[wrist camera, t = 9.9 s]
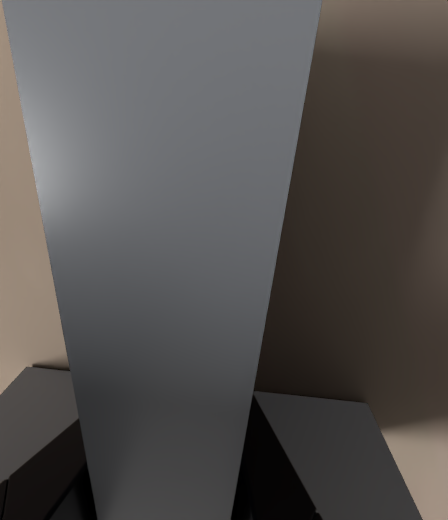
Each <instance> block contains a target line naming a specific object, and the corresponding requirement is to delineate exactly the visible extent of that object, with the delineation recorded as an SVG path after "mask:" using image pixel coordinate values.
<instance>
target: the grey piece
mask: <svg viewBox="0 0 448 520" xmlns="http://www.w3.org/2000/svg"><path fill="white" fill-rule="evenodd" d="M2 4H3V9H4V15H5V20H6V26H7V31H8V36H9V42H10V47H11V53H12V58H13V63H14V69H15V74H16V80H17V85H18V91H19V96H20V101H21V107H22V112H23V118H24V123H25V128H26V134H27V139H28V145H29V150H30V156H31V161H32V166H33V172H34V177H35V183H36V188H37V194H38V199H39V204H40V210H41V215H42V221H43V226H44V231H45V237H46V242H47V248H48V253H49V259H50V264H51V269H52V275H53V280H54V286H55V291H56V296H57V302H58V307H59V313H60V318H61V324H62V329H63V334H64V340H65V345H66V351H67V356H68V362H69V367H70V371H62V370H53V369H44V368H34V367H26V368H25V369H24V370H23V371H22V372H21V373H20V374H19V375H18V376H17V378H16V379H15V380H14V381H13V382H12V383H11V384H10V385H9V386H8V387H7V388H6V389H5V390H4V392H3V393H2V394H1V395H0V483H1V482H2V481H3V480H5V479H8V478H9V476H10V475H11V474H12V473H13V472H14V471H15V470H17V469H18V468H19V467H20V466H21V465H23V464H24V463H25V462H26V461H27V460H29V459H30V458H31V457H32V456H33V455H35V454H36V453H37V452H38V451H39V450H41V449H42V448H43V447H44V446H45V445H47V444H48V443H49V442H50V441H51V440H53V439H54V438H55V437H56V436H57V435H59V434H60V433H61V432H62V431H63V430H65V429H66V428H67V427H68V426H69V425H71V424H72V423H73V422H74V421H75V420H77V419H78V418H79V421H80V427H81V432H82V437H83V443H84V448H85V454H86V459H87V464H88V470H89V475H90V481H91V486H92V492H93V497H94V502H95V508H96V513H97V519H98V520H231V514H232V508H233V503H234V497H235V491H236V486H237V480H238V474H239V469H240V463H241V457H242V452H243V446H244V440H245V435H246V429H247V423H248V418H249V412H250V406H251V401H252V395H253V394H254V396H255V398H256V399H257V401H258V403H259V405H260V407H261V408H262V410H263V412H264V414H265V416H266V418H267V419H268V421H269V423H270V425H271V427H272V428H273V430H274V432H275V434H276V436H277V437H278V439H279V441H280V443H281V445H282V447H283V448H284V450H285V452H286V454H287V456H288V457H289V459H290V461H291V463H292V465H293V466H294V468H295V470H296V472H297V474H298V476H299V477H300V479H301V481H302V483H303V485H304V486H305V488H306V490H307V492H308V494H309V495H310V497H311V499H312V501H313V503H314V505H315V506H316V508H317V511H316V512H318V513H320V515H321V517H322V519H323V520H423V519H422V517H421V515H420V513H419V511H418V509H417V507H416V505H415V503H414V500H413V498H412V496H411V494H410V492H409V490H408V488H407V486H406V484H405V481H404V479H403V477H402V475H401V473H400V471H399V469H398V467H397V465H396V462H395V460H394V458H393V456H392V454H391V452H390V450H389V448H388V446H387V443H386V441H385V439H384V437H383V435H382V433H381V431H380V429H379V426H378V424H377V422H376V420H375V418H374V416H373V414H372V412H371V410H370V407H369V405H368V403H361V402H351V401H342V400H333V399H323V398H314V397H305V396H295V395H286V394H277V393H267V392H258V391H253V390H254V384H255V378H256V373H257V367H258V361H259V356H260V350H261V344H262V339H263V333H264V327H265V322H266V316H267V310H268V305H269V299H270V293H271V288H272V282H273V276H274V271H275V265H276V259H277V254H278V248H279V242H280V237H281V231H282V226H283V220H284V214H285V209H286V203H287V197H288V192H289V186H290V180H291V175H292V169H293V163H294V158H295V152H296V146H297V141H298V135H299V129H300V124H301V118H302V112H303V107H304V101H305V95H306V90H307V84H308V78H309V73H310V67H311V61H312V56H313V50H314V45H315V39H316V33H317V28H318V22H319V16H320V11H321V5H322V0H2Z"/></svg>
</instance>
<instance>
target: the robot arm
mask: <svg viewBox="0 0 448 520" xmlns="http://www.w3.org/2000/svg"><path fill="white" fill-rule="evenodd" d="M316 511H317V508H316V506H315V505H314V503H313V501H312V499H311V497H310V495H309V494H308V492H307V490H306V488H305V486H304V485H303V483H302V481H301V479H300V477H299V476H298V474H297V472H296V470H295V468H294V466H293V465H292V463H291V461H290V459H289V457H288V456H287V454H286V452H285V450H284V448H283V447H282V445H281V443H280V441H279V439H278V437H277V436H276V434H275V432H274V430H273V428H272V427H271V425H270V423H269V421H268V419H267V418H266V416H265V414H264V412H263V410H262V408H261V407H260V405H259V403H258V401H257V399H256V398H255V396H254V394H253V395H252V401H251V406H250V412H249V418H248V423H247V429H246V435H245V440H244V446H243V452H242V457H241V463H240V469H239V474H238V480H237V486H236V491H235V497H234V503H233V508H232V514H231V520H323V519H322V517H321V515H320V513H318V512H316ZM0 520H98V519H97V513H96V508H95V502H94V497H93V492H92V486H91V481H90V475H89V470H88V464H87V459H86V454H85V448H84V443H83V437H82V432H81V427H80V421H79V418H78V419H77V420H75V421H74V422H73V423H72V424H71V425H69V426H68V427H67V428H66V429H65V430H63V431H62V432H61V433H60V434H59V435H57V436H56V437H55V438H54V439H53V440H51V441H50V442H49V443H48V444H47V445H45V446H44V447H43V448H42V449H41V450H39V451H38V452H37V453H36V454H35V455H33V456H32V457H31V458H30V459H29V460H27V461H26V462H25V463H24V464H23V465H21V466H20V467H19V468H18V469H17V470H15V471H14V472H13V473H12V474H11V475H10V476H9V478H8V479H5V480H3V481H2V482H1V483H0Z"/></svg>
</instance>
